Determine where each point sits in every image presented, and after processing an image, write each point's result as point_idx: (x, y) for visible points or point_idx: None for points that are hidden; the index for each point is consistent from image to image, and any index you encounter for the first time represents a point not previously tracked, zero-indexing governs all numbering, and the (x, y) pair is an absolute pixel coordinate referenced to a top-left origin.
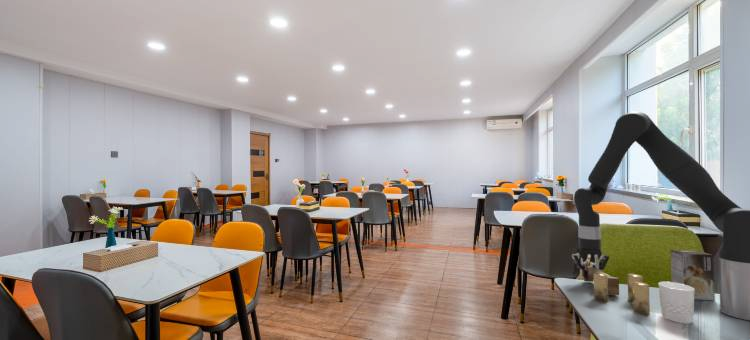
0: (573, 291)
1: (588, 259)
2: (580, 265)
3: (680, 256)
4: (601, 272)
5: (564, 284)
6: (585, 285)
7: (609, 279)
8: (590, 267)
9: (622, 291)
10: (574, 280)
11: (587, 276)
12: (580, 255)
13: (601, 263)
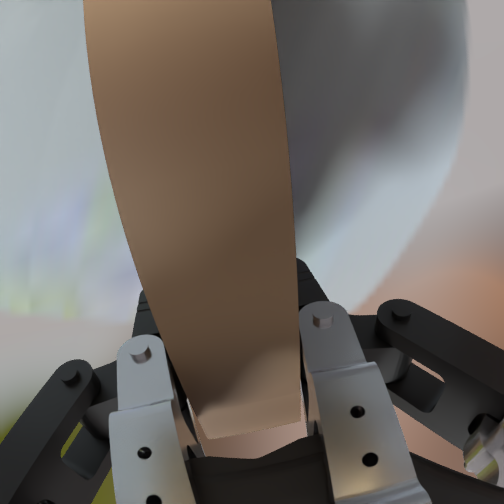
0: (435, 21)
1: (367, 476)
2: (428, 332)
3: None
4: (145, 67)
5: (438, 175)
6: None
7: None
8: (240, 380)
9: (10, 120)
10: None
11: None
12: (497, 485)
13: (77, 462)
